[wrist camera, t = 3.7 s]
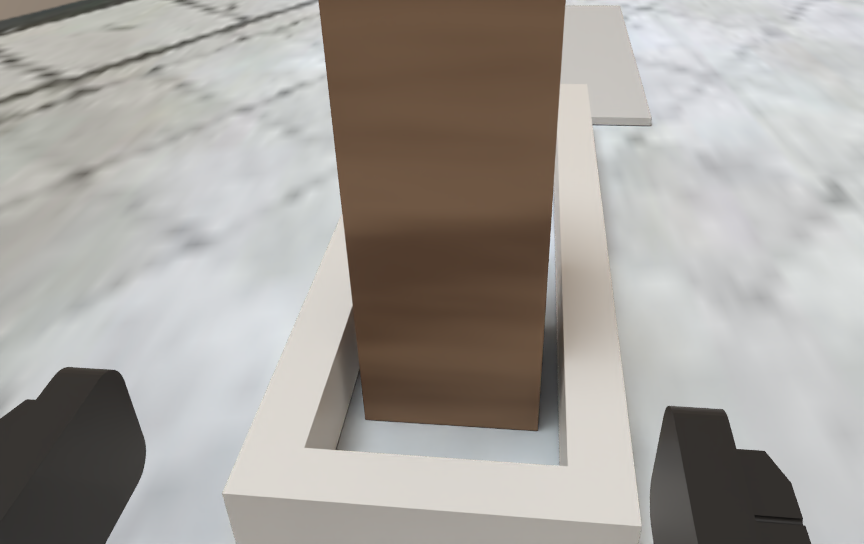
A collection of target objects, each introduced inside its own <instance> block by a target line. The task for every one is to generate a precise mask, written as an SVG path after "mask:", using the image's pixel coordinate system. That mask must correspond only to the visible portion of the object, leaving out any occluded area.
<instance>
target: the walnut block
mask: <svg viewBox="0 0 864 544" xmlns="http://www.w3.org/2000/svg"><path fill="white" fill-rule="evenodd" d="M565 2H566V0H319V9H320V18H321V26H322V35H323V44H324V53H325V62H326V71H327V80H328V89H329V98H330V107H331V116H332V125H333V134H334V143H335V152H336V161H337V170H338V179H339V188H340V197H341V205H342V214H343V223H344V232H345V241H346V250H347V259H348V268H349V277H350V286H351V295H352V304H353V313H354V322H355V331H356V340H357V349H358V358H359V367H360V376H361V384H362V393H363V402H364V411H365V420H380V421H396V422H411V423H426V424H441V425H457V426H472V427H487V428H503V429H518V430H533V431H538V416H539V401H540V385H541V370H542V355H543V339H544V324H545V309H546V293H547V278H548V263H549V247H550V232H551V217H552V201H553V186H554V171H555V155H556V140H557V125H558V109H559V94H560V79H561V63H562V48H563V33H564V17H565Z"/></svg>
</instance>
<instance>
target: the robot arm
mask: <svg viewBox="0 0 864 544" xmlns="http://www.w3.org/2000/svg"><path fill="white" fill-rule="evenodd" d="M145 457H146V445H145V440H144V436H143V433H142V431H141V428H140V425H139V422H138V419H137V416H136V413H135V410H134V407H133V405H132V402H131V399H130V396H129V393H128V390H127V387H126V384H125V381H124V379H123V377H122V375H121V374H120V373H119V372H118V371H116V370H107V369H90V368H74V367H66V368H63V369H61V370H60V371H59V372H57V373H56V375H55V376H54V377H53V378H52V380H51V381H50V382H49V383H48V385H47V386H46V387H45V389H44V390H43V391H42V393H41V394H40V395H39V397H38V398H37V399H36V400H28V399H27V400H25V401H24V402H22V403H21V404H20V405H18V406H17V407H16V408H14V409H13V410H12V411H10V412H9V413H8V414H6V415H5V416H3V417H2V418H1V419H0V544H105V543H106V541H107V539H108V537H109V536H110V534H111V532H112V530H113V528H114V526H115V525H116V523H117V521H118V519H119V517H120V515H121V514H122V512H123V510H124V508H125V506H126V504H127V503H128V501H129V499H130V497H131V495H132V493H133V492H134V490H135V488H136V486H137V484H138V482H139V480H140V478H141V475H142V472H143V469H144V464H145ZM650 518H651V527H652V535H653V542H654V544H811V542H810V539H809V536H808V533H807V530H806V527H805V526H803V522H802V521H803V518H802V514H801V511H800V508H799V505H798V502H797V499H796V496H795V493H794V490H793V487H792V484H791V482H790V481H789V480H788V479H787V477H786V476H785V475H784V474H783V473H782V471H781V470H780V469H779V468H778V466H777V465H776V464H775V463H774V462H773V460H772V459H771V458H770V457H769V456H768V454H767V453H766V452H765V451H757V450H743V449H736V446H735V442H734V438H733V435H732V431H731V427H730V423H729V420H728V417H727V414H726V412H725V411H724V410H723V409H709V408H693V407H677V406H668V407H667V408H666V410H665V413H664V417H663V422H662V427H661V432H660V437H659V442H658V448H657V453H656V458H655V463H654V468H653V473H652V478H651V487H650Z"/></svg>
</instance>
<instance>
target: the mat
mask: <svg viewBox="0 0 864 544" xmlns="http://www.w3.org/2000/svg"><path fill="white" fill-rule="evenodd" d="M560 84H587V87H588V95H589V103H590V111H591V119H592V124H599V125H650V126H651V120H652V117H651V114H650V110H649V107H648V103H647V100H646V96H645V93H644V89H643V85H642V82H641V78H640V75H639V71H638V68H637V64H636V61H635V57H634V54H633V50H632V47H631V43H630V39H629V36H628V32H627V29H626V25H625V22H624V18H623V15H622V11H621V8H620V6H565V17H564V33H563V48H562V63H561V79H560Z"/></svg>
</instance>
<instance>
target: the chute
mask: <svg viewBox="0 0 864 544" xmlns="http://www.w3.org/2000/svg"><path fill="white" fill-rule="evenodd" d="M554 221H555V270H556V320H557V369H558V419H559V466H554V465H540V464H526V463H512V462H498V461H483V460H469V459H455V458H441V457H427V456H413V455H398V454H384V453H370V452H356V451H342V450H336V447H337V444H338V440H339V437H340V433H341V430H342V427H343V423H344V420H345V416H346V413H347V410H348V406H349V403H350V399H351V396H352V393H353V389H354V386H355V382H356V379H357V376H358V372H359V369H360V367H359V358H358V349H357V340H356V331H355V322H354V313H353V304H352V295H351V286H350V277H349V268H348V259H347V250H346V241H345V232H344V223H343V214H341V217H340V219H339V221H338V224H337V226H336V228H335V231H334V233H333V235H332V238H331V240H330V242H329V245H328V247H327V249H326V252H325V254H324V256H323V259H322V261H321V263H320V266H319V268H318V271H317V273H316V275H315V278H314V280H313V282H312V285H311V287H310V289H309V292H308V294H307V296H306V299H305V301H304V303H303V306H302V308H301V310H300V313H299V315H298V317H297V320H296V322H295V324H294V327H293V329H292V331H291V334H290V336H289V338H288V341H287V343H286V345H285V348H284V350H283V352H282V355H281V357H280V359H279V362H278V364H277V366H276V369H275V371H274V373H273V376H272V378H271V380H270V383H269V385H268V387H267V390H266V392H265V394H264V397H263V399H262V401H261V404H260V406H259V408H258V411H257V413H256V415H255V418H254V420H253V422H252V425H251V427H250V429H249V432H248V434H247V436H246V439H245V441H244V443H243V446H242V448H241V450H240V453H239V455H238V457H237V460H236V462H235V464H234V467H233V469H232V471H231V474H230V476H229V478H228V481H227V483H226V485H225V488H224V490H223V492H222V495H223V498H224V502H225V506H226V509H227V513H228V516H229V520H230V523H231V527H232V531H233V534H234V538H235V541H236V544H638V543H639V538H640V532H641V527H642V525H641V517H640V509H639V501H638V493H637V485H636V476H635V468H634V460H633V452H632V444H631V436H630V428H629V420H628V411H627V403H626V395H625V387H624V379H623V371H622V363H621V355H620V347H619V338H618V330H617V322H616V314H615V306H614V298H613V290H612V282H611V273H610V265H609V257H608V249H607V241H606V233H605V225H604V217H603V208H602V200H601V192H600V184H599V176H598V168H597V160H596V152H595V144H594V135H593V127H592V119H591V111H590V103H589V95H588V87H587V84H560V94H559V109H558V125H557V140H556V155H555V171H554Z"/></svg>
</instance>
